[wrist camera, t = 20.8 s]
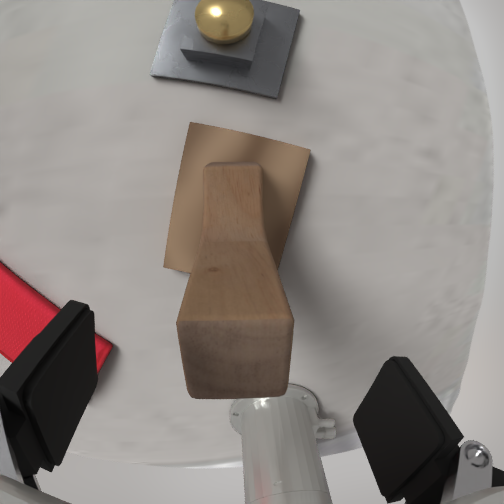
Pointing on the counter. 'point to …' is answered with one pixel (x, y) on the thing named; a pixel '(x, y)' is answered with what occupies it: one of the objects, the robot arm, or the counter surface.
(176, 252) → the board
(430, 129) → the counter surface
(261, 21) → the plate
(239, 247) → the wooden block
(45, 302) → the dish drying mat
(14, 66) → the counter surface
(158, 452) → the counter surface
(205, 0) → the button
